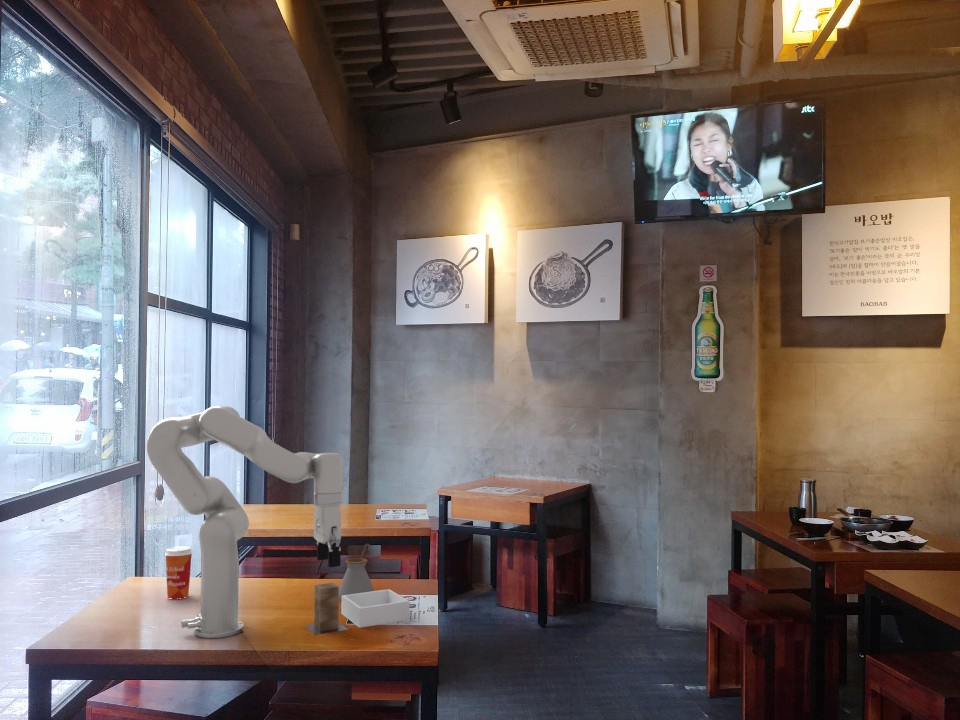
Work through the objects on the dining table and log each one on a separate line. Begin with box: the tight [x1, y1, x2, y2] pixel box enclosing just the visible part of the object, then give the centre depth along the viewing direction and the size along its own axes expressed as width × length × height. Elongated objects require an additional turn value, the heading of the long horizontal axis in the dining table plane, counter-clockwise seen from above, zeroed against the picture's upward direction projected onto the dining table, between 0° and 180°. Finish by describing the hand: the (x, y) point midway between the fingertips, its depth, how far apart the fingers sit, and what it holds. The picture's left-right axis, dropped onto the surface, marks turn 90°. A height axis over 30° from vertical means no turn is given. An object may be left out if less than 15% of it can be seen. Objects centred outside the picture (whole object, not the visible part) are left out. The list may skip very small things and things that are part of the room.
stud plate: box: [304, 621, 348, 636], centre depth 199 cm, size 9×9×5 cm
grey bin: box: [340, 588, 410, 628], centre depth 209 cm, size 15×15×6 cm
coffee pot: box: [338, 543, 375, 602], centre depth 231 cm, size 21×12×15 cm, turn 175°
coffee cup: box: [164, 545, 194, 600], centre depth 232 cm, size 8×8×15 cm
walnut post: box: [313, 582, 340, 631], centre depth 199 cm, size 5×5×11 cm
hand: (328, 563), depth 200 cm, fingers open, 9 cm apart
